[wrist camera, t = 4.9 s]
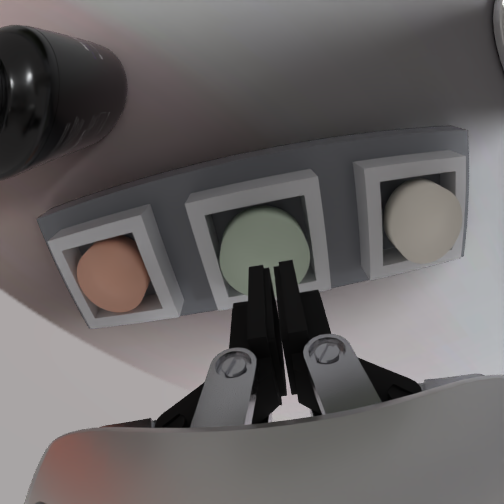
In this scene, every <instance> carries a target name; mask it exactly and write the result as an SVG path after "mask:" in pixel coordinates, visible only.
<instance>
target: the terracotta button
mask: <svg viewBox="0 0 504 504" xmlns="http://www.w3.org/2000/svg"><path fill="white" fill-rule="evenodd" d="M77 278H78V282H79V285H80V287H81V289H82V291H83V292H84V294H85V295H86V296H87V297H88V299H89V300H90V301H92V302H93V303H94V304H95V305H97V306H99V307H100V308H102V309H105V310H107V311H111V312H127V311H130V310H132V309H134V308H136V307H137V306H138V305H139V304H140V303H141V301H142V299H143V297H144V295H145V292H146V290H147V288H148V286H149V284H150V281H151V279H150V277H149V274H148V272H147V269H146V267H145V264H144V262H143V259H142V257H141V254H140V251H139V249H138V246H137V243H136V242H135V241H134V240H132V239H131V238H129V237H126V236H123V235H119V236H115V237H112V238H108V239H104V240H100V241H96V242H94V243H93V245H92V246H91V247H90V248H89V249H88V250H87V251H86V252H85V254H84V255H83V256H82V257H81V259H80V260H79V263H78V266H77Z"/></svg>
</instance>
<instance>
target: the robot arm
mask: <svg viewBox="0 0 504 504" xmlns="http://www.w3.org/2000/svg"><path fill="white" fill-rule="evenodd" d="M493 24H494V34H495V40H496V46H497V50H498V53H499V57H500V61H501V64H502V66H503V69H504V0H495V4H494V11H493ZM274 276H275V285H276V295H277V304H278V311H277V306H276V301H275V295H274V290H273V285H272V279H271V274H270V269H269V267H268V268H264V266H263V265H257V266H251V267H249V274H248V301H244V302H237V303H233V308H232V320H231V332H230V344H229V349H227V350H224V351H222V352H221V353H219V354H218V355H217V356H216V357H215V358H214V359H213V361H212V363H211V365H210V368H209V371H208V374H207V377H206V380H205V382H204V383H203V384H202V385H200V386H199V387H198V388H196V389H195V390H194V391H192V392H191V393H190V394H188V395H187V396H186V397H184V398H183V399H182V400H181V401H179V402H178V403H176V404H175V405H174V406H172V407H171V408H170V409H168V410H167V411H166V412H164V413H163V414H162V415H161V416H160V417H159V418H158V419H157V420H155V421H153V420H152V419H151V418H149V419H143V420H138V421H132V422H126V423H120V424H113V425H106V426H102V427H99V428H90V429H82V430H78V431H75V432H70V433H68V434H65V435H62V436H60V437H58V438H57V439H55V440H54V441H53V442H52V443H51V444H50V445H49V446H48V448H47V449H46V451H45V452H44V454H43V456H42V458H41V460H40V462H39V464H38V467H37V469H36V471H35V473H34V476H33V479H32V482H31V484H30V487H29V490H28V493H27V496H26V499H25V503H24V504H504V375H486V376H485V375H482V374H469V375H462V376H455V377H447V378H438V379H428V380H424V383H419V384H417V383H416V382H415V381H413V380H411V379H409V378H407V377H404V376H402V375H399V374H397V373H394V372H392V371H389V370H387V369H384V368H382V367H379V366H377V365H375V364H372V363H370V362H367V361H365V360H363V359H360V358H358V357H357V356H356V354H355V352H354V351H353V349H352V347H351V345H350V343H349V342H348V341H347V340H346V339H345V338H343V337H342V336H339V335H336V334H331V331H330V328H329V324H328V321H327V317H326V314H325V310H324V307H323V303H322V300H321V297H320V293H319V290H312V291H306V292H299V287H298V283H297V278H296V273H295V269H294V264H293V260H287V261H281V262H279V266H274ZM278 314H279V317H278ZM282 345H283V348H282ZM283 350H284V356H285V361H286V366H287V372H288V377H289V383H290V388H291V394H292V395H294V394H297V395H298V401H299V403H301V404H303V405H304V406H306V407H308V408H310V414H311V417H307V418H300V419H293V420H286V421H278V422H272V412H273V411H274V410H275V409H276V408H277V407H278V406H279V405H282V399H281V396H287V390H286V379H285V369H284V359H283Z"/></svg>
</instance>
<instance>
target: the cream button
mask: <svg viewBox="0 0 504 504" xmlns="http://www.w3.org/2000/svg"><path fill="white" fill-rule="evenodd" d="M383 226H384V230H385V233H386V235H387V237H388V239H389V240H390V241H391V242H392V243H393V245H394V246H395V247H396V248H397V249H398V250H399V251H400V252H401V254H402V255H403V256H404V257H405V258H406V259H408V260H409V261H411V262H414V263H417V264H426V263H431V262H434V261H436V260H438V259H440V258H441V257H443V256H444V255H445V254H446V253H447V252H448V251H449V250H450V249H451V248H452V247H453V245H454V244H455V242H456V240H457V238H458V236H459V234H460V231H461V226H462V210H461V206H460V203H459V201H458V199H457V198H456V196H455V195H454V194H453V193H452V192H450V191H449V190H447V189H445V188H444V187H442V186H440V185H438V184H436V183H434V182H433V181H431V180H428V179H425V178H414V179H411V180H408V181H406V182H404V183H402V184H401V185H400V186H398V187H397V188H396V189H395V190H394V192H393V193H392V194H391V196H390V197H389V199H388V201H387V203H386V206H385V209H384V214H383Z"/></svg>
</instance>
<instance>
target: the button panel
mask: <svg viewBox="0 0 504 504" xmlns="http://www.w3.org/2000/svg"><path fill="white" fill-rule="evenodd" d="M414 178H425V179H428V180H431V181H433V182H434V183H436V184H438V185H440V186H442V187H444V188H445V189H447V190H449V191H450V192H452V193H453V194H454V195H455V196H456V198H457V199H458V201H459V203H460V206H461V210H462V226H461V231H460V234H459V236H458V238H457V240H456V242H455V244H454V245H453V247H452V248H451V249H450V250H449V251H448V252H447V253H446V254H445V255H444V256H443V257H441V258H440V259H438V260H436V261H434V262H431V263H426V264H417V263H414V262H411V261H409V260H408V259H406V258H405V257H404V256H403V255H402V254H401V252H400V251H399V250H398V249H397V248H396V247H395V246H394V245H393V243H392V242H391V241H390V240H389V239H388V237H387V235H386V233H385V230H384V226H383V214H384V209H385V206H386V203H387V201H388V199H389V197H390V196H391V194H392V193H393V192H394V190H395V189H396V188H397V187H398V186H400V185H401V184H402V183H404V182H406V181H408V180H411V179H414ZM468 195H469V146H468V130H466V129H462V128H457V127H453V126H439V127H423V128H410V129H399V130H388V131H379V132H370V133H361V134H353V135H346V136H339V137H332V138H325V139H318V140H312V141H306V142H300V143H294V144H288V145H283V146H277V147H272V148H267V149H262V150H257V151H252V152H247V153H242V154H238V155H233V156H229V157H224V158H220V159H215V160H211V161H207V162H203V163H199V164H195V165H191V166H187V167H183V168H179V169H175V170H171V171H168V172H164V173H160V174H157V175H153V176H150V177H146V178H143V179H139V180H136V181H132V182H129V183H126V184H122V185H119V186H116V187H113V188H110V189H107V190H103V191H100V192H97V193H94V194H91V195H88V196H85V197H82V198H80V199H77V200H74V201H71V202H68V203H65V204H63V205H60V206H57V207H54V208H52V209H50V210H49V211H47V212H46V213H44V214H43V215H42V216H40V217H39V218H37V222H38V224H39V227H40V229H41V232H42V234H43V237H44V239H45V241H46V244H47V246H48V248H49V251H50V253H51V255H52V257H53V259H54V262H55V264H56V266H57V268H58V270H59V272H60V274H61V276H62V279H63V281H64V283H65V285H66V287H67V289H68V291H69V292H70V294H71V296H72V298H73V300H74V302H75V304H76V306H77V308H78V310H79V311H80V313H81V315H82V317H83V319H84V320H85V322H86V324H87V326H88V327H89V328H91V329H96V328H104V327H113V326H120V325H128V324H136V323H143V322H150V321H157V320H164V319H171V318H178V317H180V316H183V315H189V314H196V313H202V312H208V311H214V310H218V311H221V310H227V309H232V308H233V303H237V302H244V301H248V296H247V295H244V294H242V293H240V292H239V291H237V290H235V289H234V288H233V287H232V286H231V285H230V284H229V283H228V282H227V280H226V279H225V277H224V276H223V273H222V271H221V267H220V250H221V244H222V237H223V233H224V231H225V228H226V227H227V225H228V223H229V222H230V221H231V220H232V219H233V218H234V217H235V216H236V215H237V214H239V213H240V212H242V211H244V210H246V209H248V208H251V207H255V206H273V207H277V208H280V209H282V210H284V211H286V212H288V213H289V214H290V215H292V216H293V217H294V218H295V219H296V221H297V222H298V223H299V225H300V227H301V229H302V232H303V234H304V236H305V239H306V241H307V244H308V246H309V251H310V263H309V268H308V270H307V273H306V275H305V276H304V278H303V279H302V281H301V282H300V283H299V284H298V287H299V292H306V291H312V290H319V292H322V291H326V290H331V288H335V287H339V286H344V285H348V284H353V283H358V282H362V281H366V280H370V281H372V280H376V279H380V278H385V277H389V276H393V275H397V274H401V273H405V272H409V271H413V270H417V269H421V268H425V267H429V266H433V265H437V264H441V263H445V262H448V261H452V260H456V259H459V258H461V257H463V256H464V249H465V239H466V228H467V215H468ZM119 235H123V236H126V237H129V238H131V239H132V240H134V241H135V242H136V243H137V246H138V249H139V251H140V254H141V257H142V259H143V262H144V264H145V267H146V269H147V272H148V274H149V277H150V279H151V281H150V284H149V286H148V288H147V290H146V292H145V295H144V297H143V299H142V301H141V303H140V304H139V305H138V306H137V307H136V308H134V309H132V310H130V311H127V312H111V311H107V310H105V309H102V308H100V307H99V306H97V305H95V304H94V303H93V302H92V301H90V300H89V299H88V297H87V296H86V295H85V294H84V292H83V291H82V289H81V287H80V285H79V282H78V278H77V266H78V263H79V260H80V259H81V257H82V256H83V255H84V254H85V252H86V251H87V250H88V249H89V248H90V247H91V246H92V245H93V243H94V242H96V241H100V240H104V239H108V238H112V237H115V236H119ZM275 301H277V297H275Z"/></svg>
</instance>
